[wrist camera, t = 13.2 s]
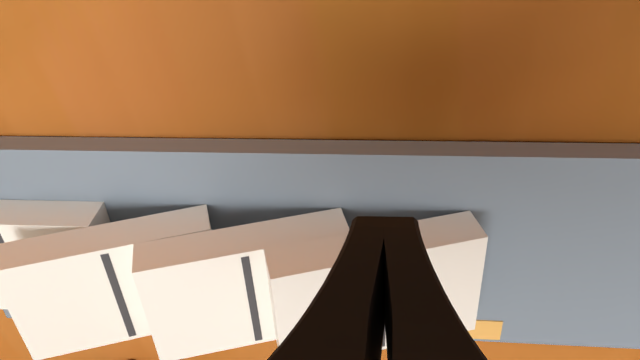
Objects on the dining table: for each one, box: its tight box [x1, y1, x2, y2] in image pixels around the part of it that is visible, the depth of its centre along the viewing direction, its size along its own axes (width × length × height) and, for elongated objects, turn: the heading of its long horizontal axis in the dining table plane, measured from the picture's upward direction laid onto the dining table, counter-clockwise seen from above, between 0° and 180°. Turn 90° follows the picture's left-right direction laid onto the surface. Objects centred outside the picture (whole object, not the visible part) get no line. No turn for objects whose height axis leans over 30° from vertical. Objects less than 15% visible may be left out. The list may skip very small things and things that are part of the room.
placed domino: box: [264, 211, 488, 350], centre depth 24 cm, size 2×5×8 cm
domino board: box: [0, 136, 640, 349], centre depth 26 cm, size 30×10×1 cm, turn 93°
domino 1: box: [0, 204, 212, 360], centre depth 25 cm, size 2×5×8 cm
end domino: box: [0, 200, 111, 309], centre depth 26 cm, size 2×5×8 cm
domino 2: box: [132, 208, 349, 360], centre depth 24 cm, size 2×5×8 cm
